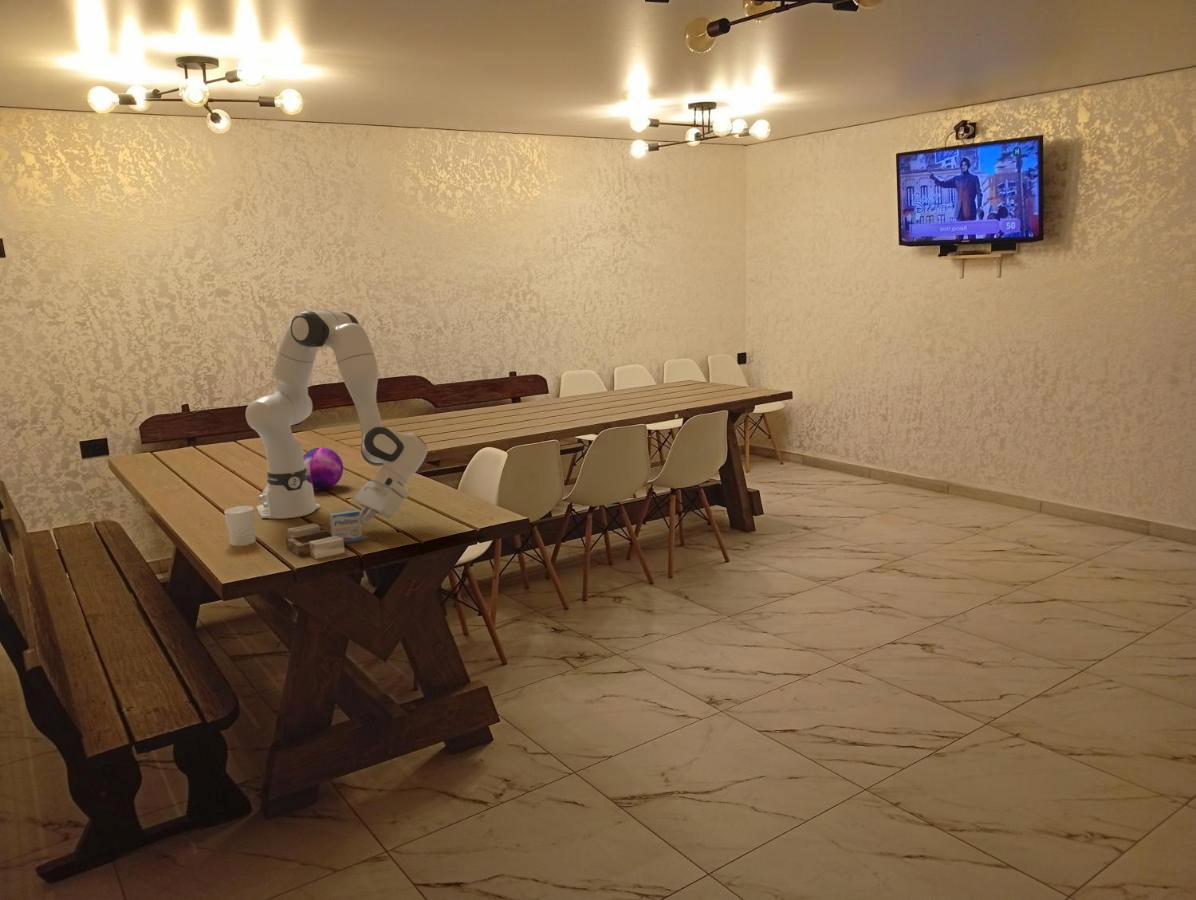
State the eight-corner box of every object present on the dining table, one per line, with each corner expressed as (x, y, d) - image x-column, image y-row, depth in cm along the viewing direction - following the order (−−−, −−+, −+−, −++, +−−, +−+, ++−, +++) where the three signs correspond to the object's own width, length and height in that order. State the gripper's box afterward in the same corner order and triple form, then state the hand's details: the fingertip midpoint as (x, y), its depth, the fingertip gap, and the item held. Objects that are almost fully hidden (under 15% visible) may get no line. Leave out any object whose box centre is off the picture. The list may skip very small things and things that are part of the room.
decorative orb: (351, 483, 327) (347, 443, 324) (334, 494, 313) (330, 452, 310) (312, 484, 330) (308, 444, 326) (293, 494, 315) (289, 452, 312)
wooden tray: (280, 544, 258) (278, 530, 257) (319, 535, 264) (317, 522, 264) (307, 561, 241) (305, 547, 240) (348, 551, 248) (346, 537, 247)
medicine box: (334, 545, 254) (331, 515, 253) (331, 541, 258) (328, 512, 257) (362, 540, 258) (359, 511, 256) (359, 536, 262) (356, 508, 260)
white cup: (261, 538, 264) (257, 505, 262) (252, 546, 257) (248, 512, 255) (234, 539, 264) (230, 506, 262) (224, 547, 256) (220, 513, 254)
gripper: (366, 472, 271) (338, 509, 267) (396, 483, 255) (367, 523, 251) (381, 483, 274) (354, 521, 270) (412, 495, 259) (383, 535, 255)
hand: (360, 522), depth 261 cm, fingers closed
